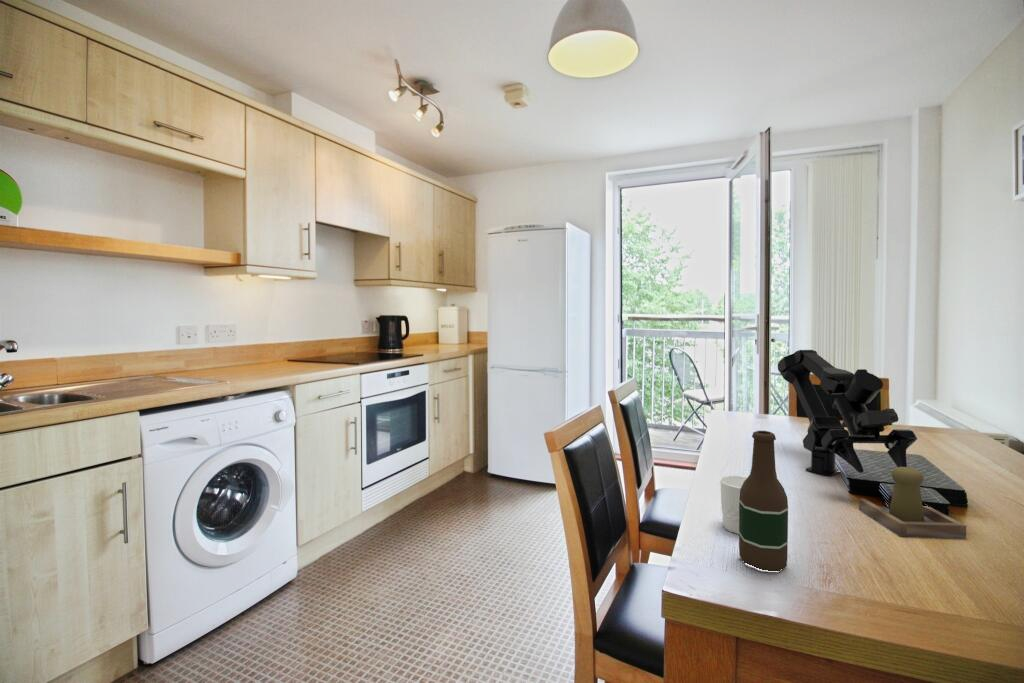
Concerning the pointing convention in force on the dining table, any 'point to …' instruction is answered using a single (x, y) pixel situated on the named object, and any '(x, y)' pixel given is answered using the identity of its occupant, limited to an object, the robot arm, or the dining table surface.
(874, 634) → the dining table surface
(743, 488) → the beer bottle
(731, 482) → the white cup
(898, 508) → the cork
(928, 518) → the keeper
